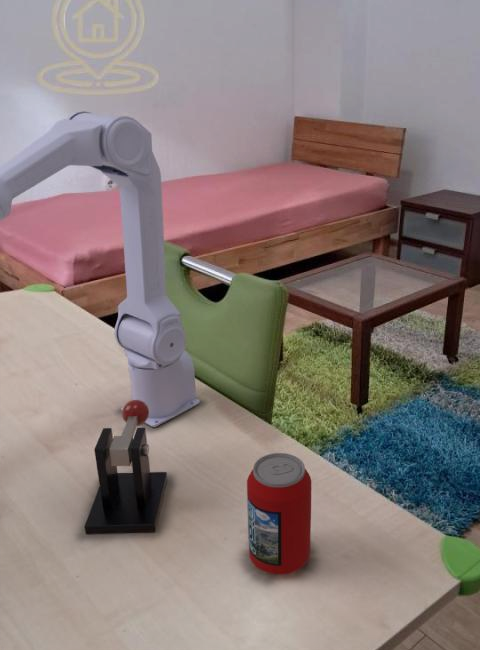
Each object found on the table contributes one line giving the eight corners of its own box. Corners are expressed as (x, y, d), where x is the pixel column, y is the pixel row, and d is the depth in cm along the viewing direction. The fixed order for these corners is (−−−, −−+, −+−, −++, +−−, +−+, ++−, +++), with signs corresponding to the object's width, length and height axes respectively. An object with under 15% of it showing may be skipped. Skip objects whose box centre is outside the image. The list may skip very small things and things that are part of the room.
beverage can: (240, 545, 72) (237, 457, 67) (295, 529, 74) (296, 443, 69) (261, 588, 66) (259, 495, 61) (320, 569, 68) (322, 478, 63)
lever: (126, 417, 84) (123, 395, 83) (152, 416, 84) (149, 394, 83) (106, 470, 74) (103, 445, 72) (135, 469, 74) (133, 445, 72)
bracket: (105, 480, 82) (96, 415, 78) (167, 479, 82) (161, 414, 78) (85, 534, 73) (73, 464, 69) (155, 532, 73) (148, 462, 69)
